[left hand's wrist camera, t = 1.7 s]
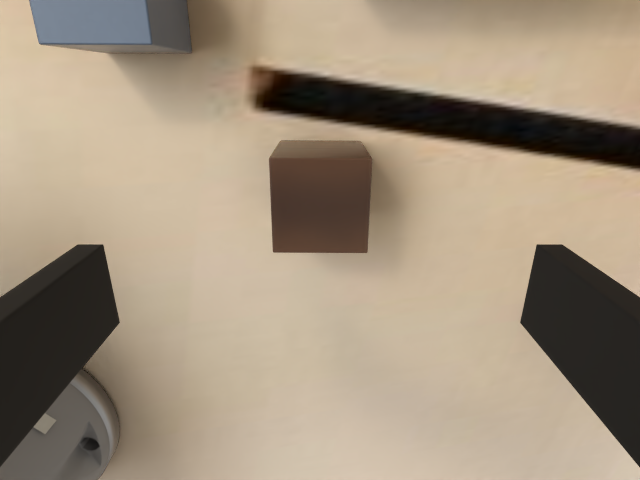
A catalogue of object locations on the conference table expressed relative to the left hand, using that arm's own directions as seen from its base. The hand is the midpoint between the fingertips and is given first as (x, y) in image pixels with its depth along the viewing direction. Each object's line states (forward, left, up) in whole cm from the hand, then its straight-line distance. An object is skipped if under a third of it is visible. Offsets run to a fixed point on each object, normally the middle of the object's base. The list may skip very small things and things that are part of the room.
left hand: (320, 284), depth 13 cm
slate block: (0, +14, -14) cm, 20 cm away
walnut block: (0, 0, -14) cm, 15 cm away
